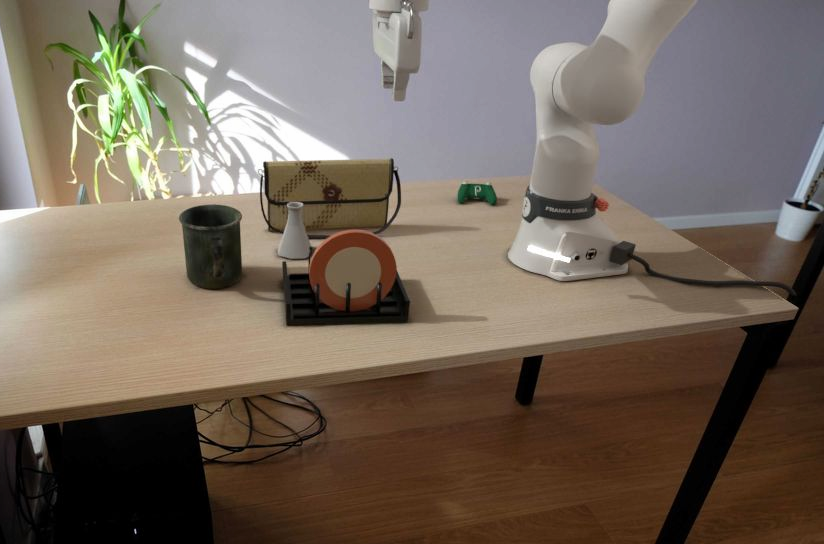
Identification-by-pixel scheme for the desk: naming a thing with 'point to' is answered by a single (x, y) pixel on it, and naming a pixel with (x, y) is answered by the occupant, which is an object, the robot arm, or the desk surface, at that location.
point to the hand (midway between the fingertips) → (392, 93)
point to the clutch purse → (330, 193)
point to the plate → (352, 269)
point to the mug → (212, 245)
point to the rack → (312, 311)
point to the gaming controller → (477, 192)
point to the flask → (294, 234)
